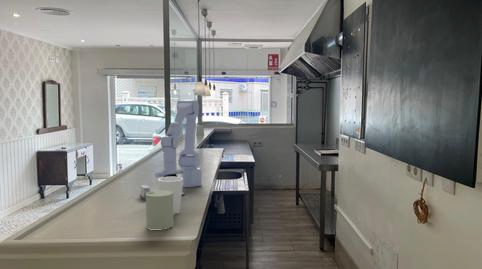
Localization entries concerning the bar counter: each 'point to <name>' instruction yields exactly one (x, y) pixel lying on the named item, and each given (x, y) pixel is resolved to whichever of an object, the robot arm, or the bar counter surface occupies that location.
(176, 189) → the foam cup
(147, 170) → the bar counter surface
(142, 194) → the plate
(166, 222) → the can
